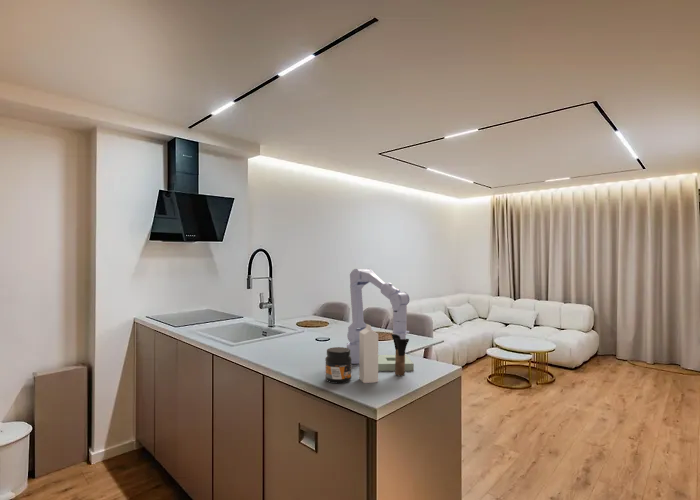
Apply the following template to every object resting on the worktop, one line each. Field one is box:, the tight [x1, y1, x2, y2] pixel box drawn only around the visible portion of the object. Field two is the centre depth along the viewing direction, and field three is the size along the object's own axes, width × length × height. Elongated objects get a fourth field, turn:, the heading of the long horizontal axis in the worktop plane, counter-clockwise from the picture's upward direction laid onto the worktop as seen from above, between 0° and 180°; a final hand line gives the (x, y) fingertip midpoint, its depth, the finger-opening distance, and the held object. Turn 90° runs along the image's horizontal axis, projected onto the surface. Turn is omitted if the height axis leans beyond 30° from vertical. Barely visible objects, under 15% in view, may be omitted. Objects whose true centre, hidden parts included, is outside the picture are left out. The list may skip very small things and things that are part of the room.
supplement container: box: [324, 346, 352, 384], centre depth 148 cm, size 10×10×12 cm
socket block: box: [378, 354, 414, 372], centre depth 169 cm, size 16×16×3 cm
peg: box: [394, 349, 406, 376], centre depth 156 cm, size 4×4×10 cm
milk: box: [358, 323, 379, 384], centre depth 148 cm, size 6×6×22 cm
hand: (399, 353), depth 156 cm, fingers open, 7 cm apart
